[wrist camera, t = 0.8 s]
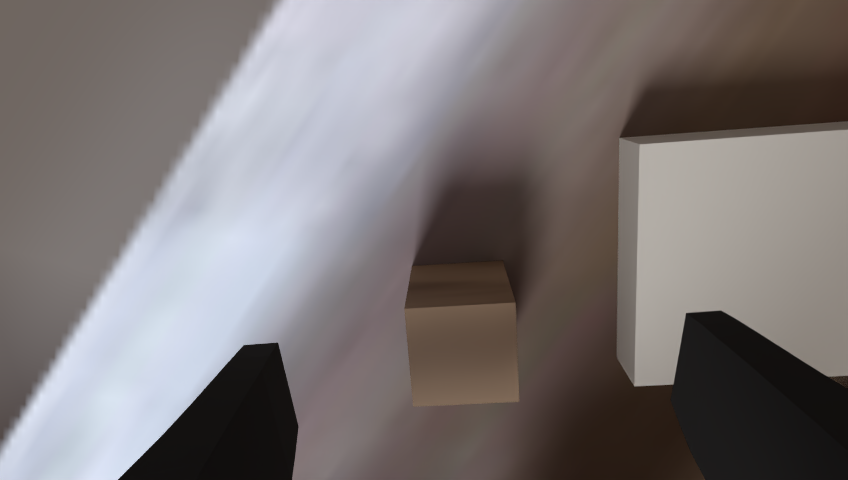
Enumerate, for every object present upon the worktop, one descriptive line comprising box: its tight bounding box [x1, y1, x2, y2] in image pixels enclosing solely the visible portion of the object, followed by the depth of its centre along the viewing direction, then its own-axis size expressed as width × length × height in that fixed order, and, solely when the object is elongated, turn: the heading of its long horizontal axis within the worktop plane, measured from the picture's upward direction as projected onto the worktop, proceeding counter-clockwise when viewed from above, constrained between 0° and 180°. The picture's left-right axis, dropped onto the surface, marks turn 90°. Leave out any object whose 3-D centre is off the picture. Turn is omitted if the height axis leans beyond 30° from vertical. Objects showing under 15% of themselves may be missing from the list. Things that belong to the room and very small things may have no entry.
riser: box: [617, 121, 848, 386], centre depth 24 cm, size 10×10×3 cm
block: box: [405, 260, 519, 407], centre depth 24 cm, size 4×4×5 cm
